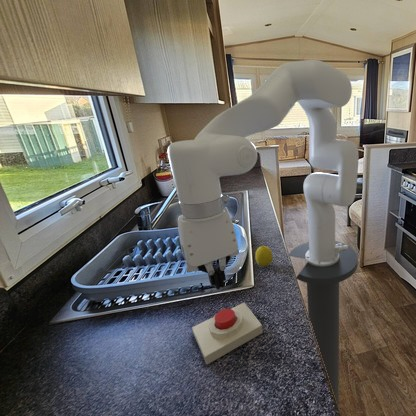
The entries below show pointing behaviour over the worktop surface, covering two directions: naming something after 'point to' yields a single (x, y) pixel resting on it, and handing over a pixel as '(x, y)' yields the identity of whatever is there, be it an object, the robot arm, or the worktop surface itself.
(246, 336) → the switch block
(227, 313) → the button
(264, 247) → the lemon
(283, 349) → the worktop surface
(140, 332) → the worktop surface
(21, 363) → the worktop surface
